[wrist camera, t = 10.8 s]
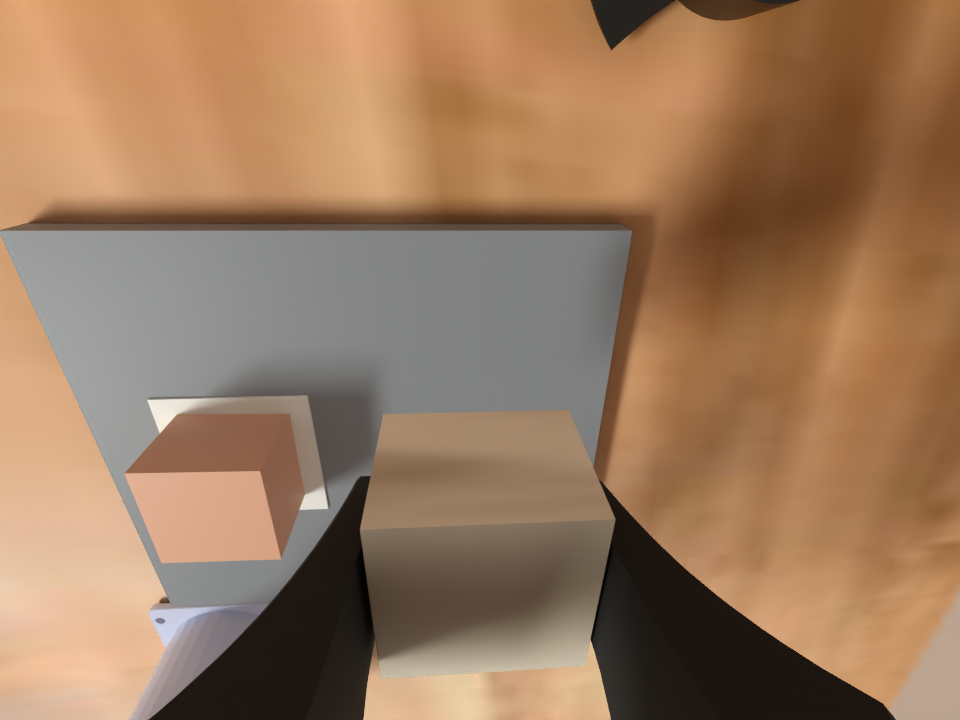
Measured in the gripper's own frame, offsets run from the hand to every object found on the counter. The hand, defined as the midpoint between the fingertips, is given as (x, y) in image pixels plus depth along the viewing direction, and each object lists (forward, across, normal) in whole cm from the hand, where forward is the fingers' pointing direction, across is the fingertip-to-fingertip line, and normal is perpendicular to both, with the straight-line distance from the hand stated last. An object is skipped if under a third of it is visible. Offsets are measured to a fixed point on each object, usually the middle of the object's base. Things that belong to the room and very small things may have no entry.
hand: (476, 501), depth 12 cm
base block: (+8, +10, +5) cm, 13 cm away
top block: (+1, 0, 0) cm, 1 cm away
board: (+9, +5, +5) cm, 11 cm away
